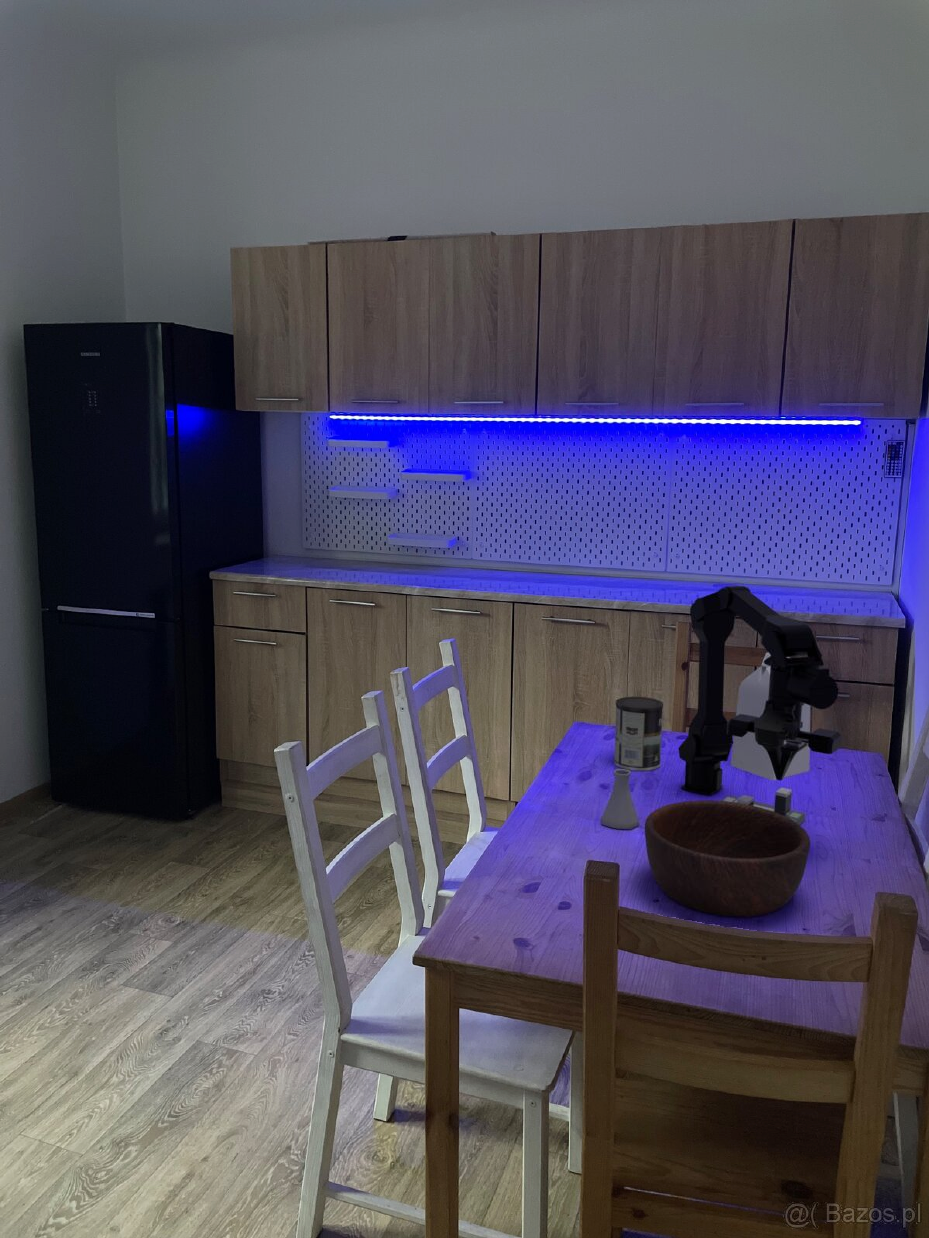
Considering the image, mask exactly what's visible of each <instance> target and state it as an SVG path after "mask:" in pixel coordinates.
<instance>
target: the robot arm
mask: <svg viewBox="0 0 929 1238" xmlns="http://www.w3.org/2000/svg"><path fill="white" fill-rule="evenodd" d="M689 616H690V621H691V622H690V625H691V629H692V631H693V632H694V635H695V636H696V638H697V639H698V641H699V643H698V644H699V645H698V646H699V648H698V649H699V651H698V652H699V654H698V688H697V689H698V690H697V691H698V692H697V694H698V695H697V712H696V714H695V715H694V717H693V718H692V720H691V722H690V723H689V726H688V734H687V737H686V738H685V740H684V741H682V743H681V744H680V746H679V747H678V755H679V759H681V760H683V762H685V767H684V768H685V769H684V770H685V772H684V784H682V785H680V789H681V790H685V791H689V792H691V793H697V794H701V795H705V796H712V795H714V794H715V793H716V792H719V791H720V790H721V789H722V788H723V768H721V762H728V759H729V756H730V753H731V751H732V748H733V739H734V736H738V737H743V736H744V735H746V734H747V733H748V732H752V733H755V741H756V742H757V743H758V745H762V746H763V747H764V748H765V749H766V751H767V752H768V755H769V757H770V760H771V763H772V766H773V770H774V773H775V776H776V779H777V780H776V781H782V780H784V776H785V774H786V772H787V770H788V768H789V766H790V764H791V762H792V760H793V758H794V756H795V755H796V753H797V752H799V751H800V750H802V749H803V748H804V747H806V746H807V744H808V747H809V748H810V751H811V752H814V753H821V754H825V755H832V754H833V753H835V752H836V751H838V750H839V749H840V748H842V739H843V737H842V735H841V734H840V732H839V731H837V730H832V729H826V728H821V727H818V728H816V729H815V730H814V731H812V732H811V731H810V732H805V731H800V728H802V726H803V722H801V715H802V706H803V705H804V703H805V704H807V705H810V707H812V708H815V709H816V710H826V709H829V707H831V706H832V705H833V704H835V702H836V700H837V699H838V696H839V687H838V684H837V682H836V680H835V679H834V678H833V677H832V676H830V669H829V668H827V667H825V666H824V661H823V654H822V652H821V650H820V648H819V647H818V644H817V643H818V642H817V640H816V638H815V636H814V633H813V630H812V628H811V627H810V626H809V625H808V624H807V623H804V622H802V621H800V620H798V619H795V618H790V617H786V616H783V615H781V614H779V613H778V612H776V611H775V610H774V609H773V608H771V607H770V606H768V604H766V603H765V602H763V600H761V599H760V598H758V597H757V596H756V595H755V594H754V593H752V592H751V589H749V587H748V586H745V585H732V586H731V585H730V586H729V585H728V586H724V587H722V588H720V589H719V590H717V591H715V592H712V593H710V594H708V595H705V596H702V597H697V598H696V599H695V600H694V602H693V603H692V604H691V606H690V609H689ZM736 618H740V619H741V620H742V621H743V622H744V623H746V624H747V625H748V626H749V627H751V629H753V630H754V631H755V632H756V633H758V634H759V636H760V639H761V640H760V643H761V645H762V646H763V647H764V649H765V650H766V651H767V653H769V654H770V655H771V656H770V657H768V658H767V659H766V660H764V659H763V660H764V664H766V665H769V666H770V667H771V668H770V681H769V696H768V700H767V701H766V704H765V709H764V712H763V714H762V715H761V716H760V717H759V718H758V717H755V716H749V715H744V714H739V715H737V716H736V715H735V716H734V717H731V718H730V719H729V720H727V718H726V717H725V715H724V693H725V691H724V689H725V688H724V687H725V660H726V659H725V657H726V655H725V654H726V642H727V641H728V638H729V637H730V635H731V634H732V632H733V631H734V629H735V622H736ZM787 657H790V658H787ZM823 666H824V667H823ZM784 741H786V744H784Z"/></svg>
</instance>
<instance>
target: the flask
mask: <svg viewBox="0 0 929 1238" xmlns="http://www.w3.org/2000/svg"><path fill="white" fill-rule="evenodd" d="M613 775H614V783H613V787H612V791H611V794H610V795H609V798H608V801H607V803H606V806H605V808H604V810H603V813H602V815H601V818H600V819H601V825H603V826H606V827H609V828H613V829H619V830H620V829H621V830H632V829H634V828H636V827H638V826H640V822H639V821H640V820H639V817H638V814H637V810H636V808H635V804H634V802H633V798H632V795H631V791H630V784H629V783H630V781H629V779H630V776H631V770H627V769H623V768H617V769H615V770H613Z"/></svg>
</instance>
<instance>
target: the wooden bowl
mask: <svg viewBox="0 0 929 1238" xmlns="http://www.w3.org/2000/svg"><path fill="white" fill-rule="evenodd" d="M644 836H645V837H644V838H645V846H646V847H645V848H646V854H647V859H648V864H649V868H650V870H651V872H652V875H653V877H654V879H655V881H656V883H657V884H658V886H659V888H660V889H661V890H662V891H663V892H664V893H665V894H666V895H667V896H668V897H669V898H670V899H672V900H673V901H675V902H677V903H679V904H680V905H683V906H685V907H687V908H690V909H693V910H696V911H699V912H702V913H707V914H711V915H716V916H723V917H738V918H739V917H745V918H746V917H747V918H748V917H757V916H764V915H767V914H770V913H773V912H775V911H777V910H779V909H781V908H783V907H784V906H785V905H787V904H788V903H789V902H790V900H791V899H792V898H793V897H794V895H795V893H796V892H797V890H798V888H799V886H800V884H801V882H802V881H803V877H804V873H805V870H806V866H807V863H808V858H809V854H810V849H811V839H810V838H811V837H810V836H809V834H808V831H806V830H805V828H804V827H802V826H801V825H799V824H797V823H796V822H794V821H793V820H791V819H789V818H787V817H785V816H783V815H781V814H778V813H776V812H773V811H770V810H767V809H764V808H760V807H756V806H752V805H747V804H741V803H735V802H726V801H722V800H707V799H706V800H705V799H704V800H699V799H698V800H690V801H689V800H688V801H681V802H678V801H677V802H673V803H671V804H666V805H664V806H661V807H658V808H657V809H655V810H652V812H651V813H650V814H649V815H648V816H647V817H646V819H645V822H644Z"/></svg>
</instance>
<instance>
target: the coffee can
mask: <svg viewBox="0 0 929 1238" xmlns="http://www.w3.org/2000/svg"><path fill="white" fill-rule="evenodd" d="M663 708H664V702H663V701H661V700H660V699H656V698H652V697H647V696H627V697H621V698H618V699H616V700H615V729H614V731H615V732H614V758H613V759H614V760H613V763H614V765H615V766H617V767H619V769H625V770H629V771H635V772H649V771H654V770H656V769H657V770H658V769H660V767H661V754H662V753H661V751H662V750H661V749H662V729H663V727H662V726H663V711H664V710H663Z"/></svg>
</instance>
